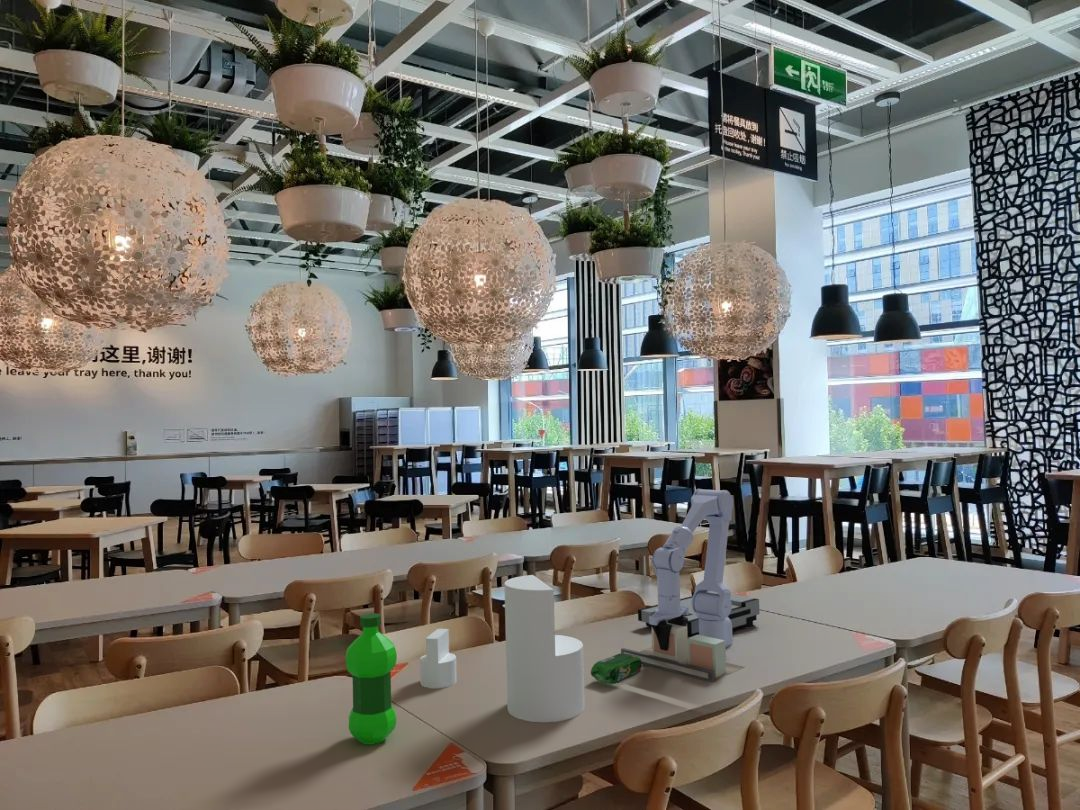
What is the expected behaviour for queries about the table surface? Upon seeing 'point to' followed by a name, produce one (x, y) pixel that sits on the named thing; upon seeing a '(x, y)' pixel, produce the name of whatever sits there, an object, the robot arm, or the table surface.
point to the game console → (739, 616)
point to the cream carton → (672, 644)
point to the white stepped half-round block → (438, 661)
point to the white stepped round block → (540, 656)
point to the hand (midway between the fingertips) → (670, 647)
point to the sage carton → (707, 653)
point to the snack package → (616, 668)
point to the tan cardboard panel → (679, 665)
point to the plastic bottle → (371, 682)
